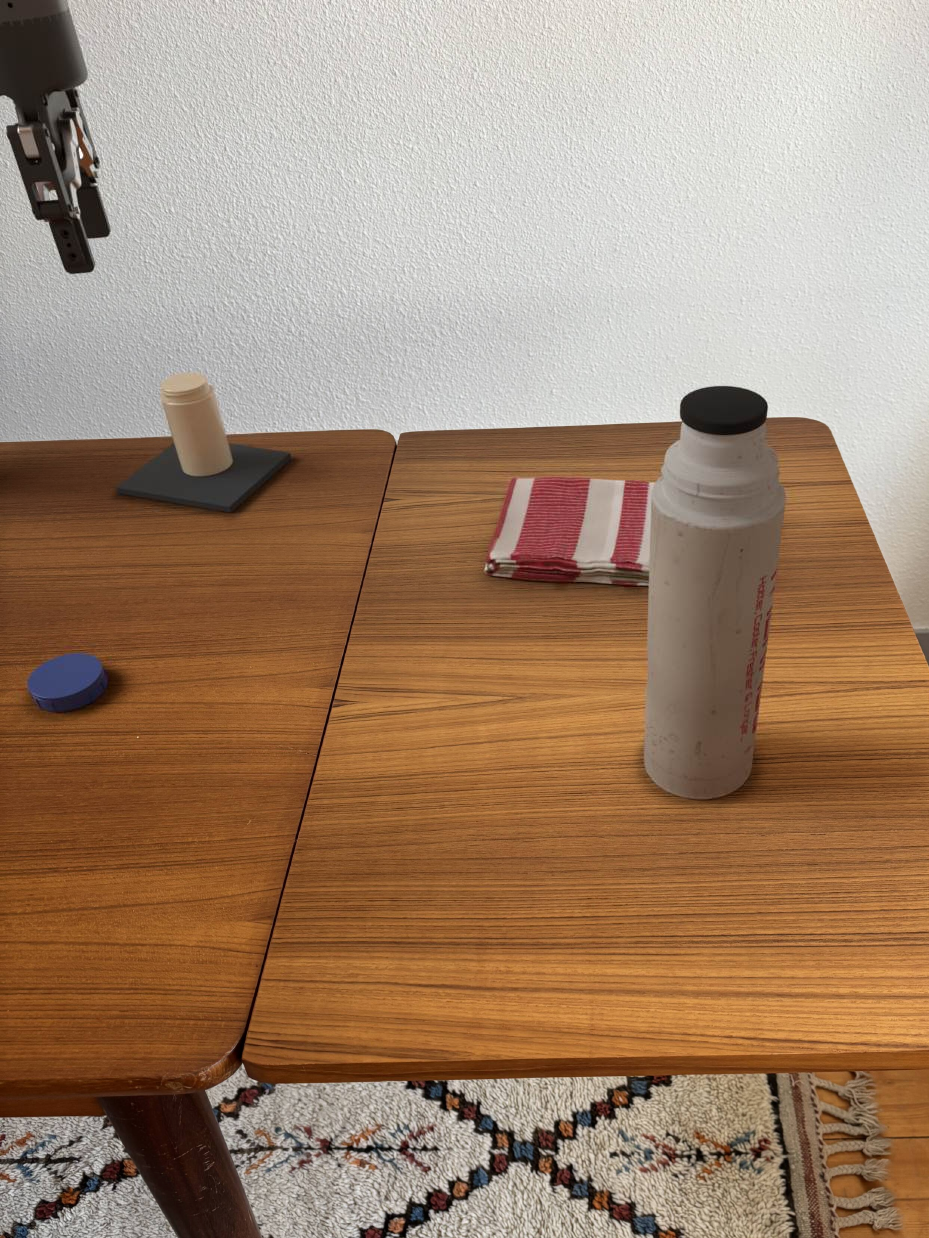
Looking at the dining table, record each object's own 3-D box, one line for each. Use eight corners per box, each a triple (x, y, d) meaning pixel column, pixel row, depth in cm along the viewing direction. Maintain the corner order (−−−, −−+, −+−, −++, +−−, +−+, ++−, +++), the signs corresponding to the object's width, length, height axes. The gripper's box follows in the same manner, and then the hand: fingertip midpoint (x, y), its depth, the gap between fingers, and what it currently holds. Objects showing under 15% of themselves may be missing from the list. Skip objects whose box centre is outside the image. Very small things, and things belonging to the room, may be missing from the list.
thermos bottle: (768, 746, 79) (818, 386, 59) (726, 814, 74) (766, 445, 54) (671, 713, 82) (690, 361, 62) (625, 777, 77) (629, 415, 58)
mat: (117, 493, 110) (115, 487, 110) (184, 442, 118) (182, 435, 118) (231, 513, 106) (229, 506, 106) (292, 459, 115) (290, 452, 114)
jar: (172, 474, 111) (146, 391, 105) (196, 450, 115) (172, 369, 109) (218, 478, 110) (195, 394, 104) (241, 454, 114) (220, 372, 108)
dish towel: (740, 592, 93) (743, 567, 91) (482, 581, 96) (480, 556, 94) (741, 496, 105) (743, 472, 104) (512, 488, 108) (510, 465, 106)
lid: (102, 706, 85) (96, 692, 84) (27, 716, 84) (20, 702, 83) (112, 662, 89) (106, 648, 88) (41, 672, 88) (34, 658, 87)
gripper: (47, 21, 68) (127, 280, 79) (82, -12, 78) (148, 222, 89) (-74, 29, 67) (23, 290, 78) (-23, -5, 77) (57, 230, 88)
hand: (90, 253), depth 83 cm, fingers open, 8 cm apart
